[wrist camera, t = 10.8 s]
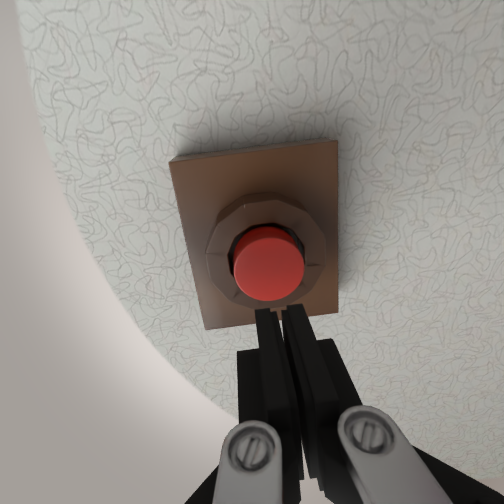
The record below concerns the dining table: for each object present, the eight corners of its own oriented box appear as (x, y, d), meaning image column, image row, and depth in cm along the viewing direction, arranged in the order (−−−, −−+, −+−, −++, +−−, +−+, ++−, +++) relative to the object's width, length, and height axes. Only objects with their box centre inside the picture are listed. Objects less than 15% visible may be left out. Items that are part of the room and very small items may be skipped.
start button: (300, 280, 18) (306, 296, 17) (238, 288, 18) (238, 305, 17) (296, 221, 17) (303, 233, 15) (229, 230, 17) (228, 243, 15)
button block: (329, 295, 23) (347, 330, 19) (207, 311, 23) (202, 349, 19) (326, 136, 19) (350, 143, 15) (174, 156, 18) (160, 167, 15)
